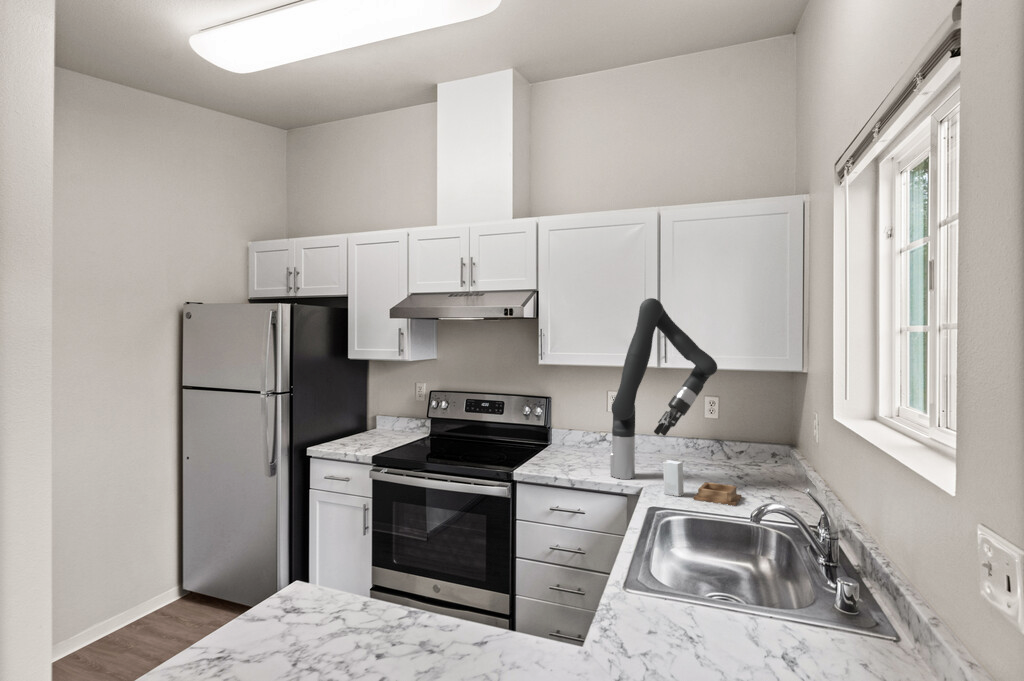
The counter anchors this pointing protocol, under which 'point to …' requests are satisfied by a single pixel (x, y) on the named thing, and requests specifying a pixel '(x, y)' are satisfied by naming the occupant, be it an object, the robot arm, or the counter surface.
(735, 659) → the counter surface
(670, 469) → the skincare box
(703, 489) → the walnut well board
